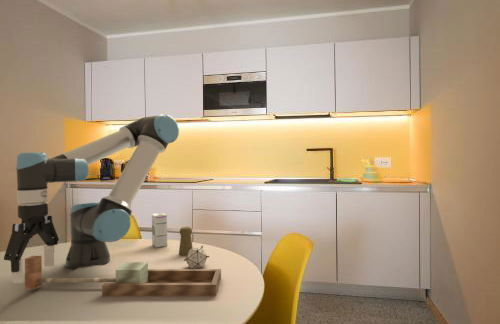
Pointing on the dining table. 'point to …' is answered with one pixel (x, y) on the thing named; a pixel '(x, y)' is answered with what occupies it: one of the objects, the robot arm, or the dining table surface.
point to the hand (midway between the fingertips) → (34, 273)
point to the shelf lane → (169, 284)
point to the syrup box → (159, 229)
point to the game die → (196, 258)
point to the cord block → (124, 274)
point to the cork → (185, 240)
